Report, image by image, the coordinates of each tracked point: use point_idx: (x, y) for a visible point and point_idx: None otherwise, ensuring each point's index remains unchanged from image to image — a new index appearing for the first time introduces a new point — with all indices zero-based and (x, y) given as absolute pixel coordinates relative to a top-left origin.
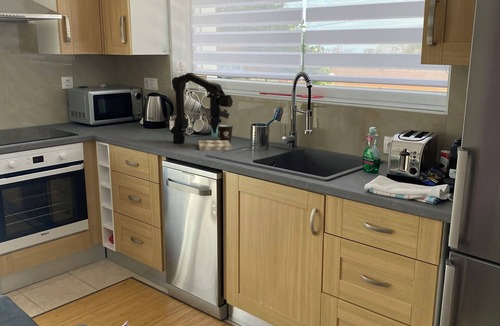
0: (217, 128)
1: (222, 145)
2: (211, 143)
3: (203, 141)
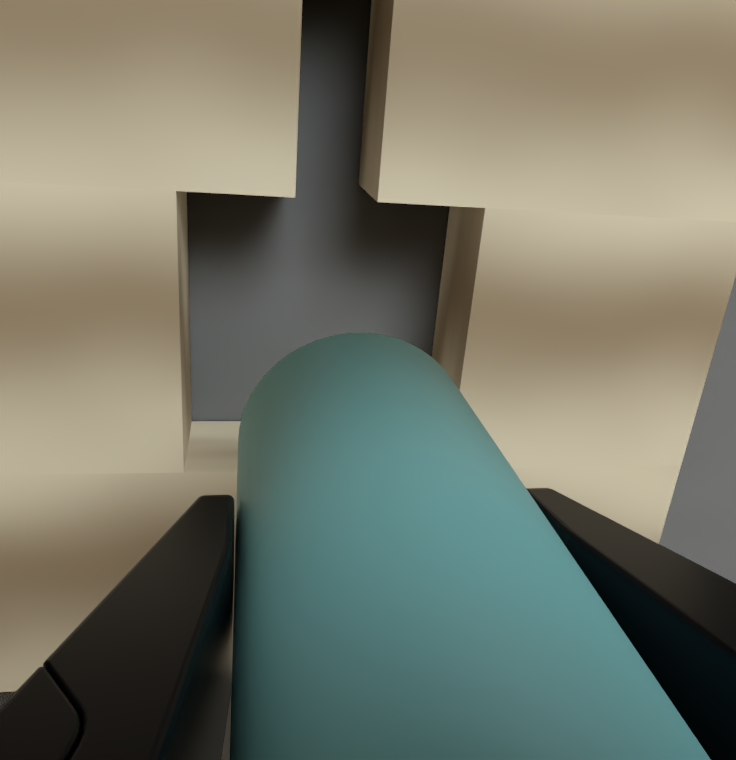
0: (525, 529)
1: (700, 170)
2: (186, 401)
3: (76, 596)
